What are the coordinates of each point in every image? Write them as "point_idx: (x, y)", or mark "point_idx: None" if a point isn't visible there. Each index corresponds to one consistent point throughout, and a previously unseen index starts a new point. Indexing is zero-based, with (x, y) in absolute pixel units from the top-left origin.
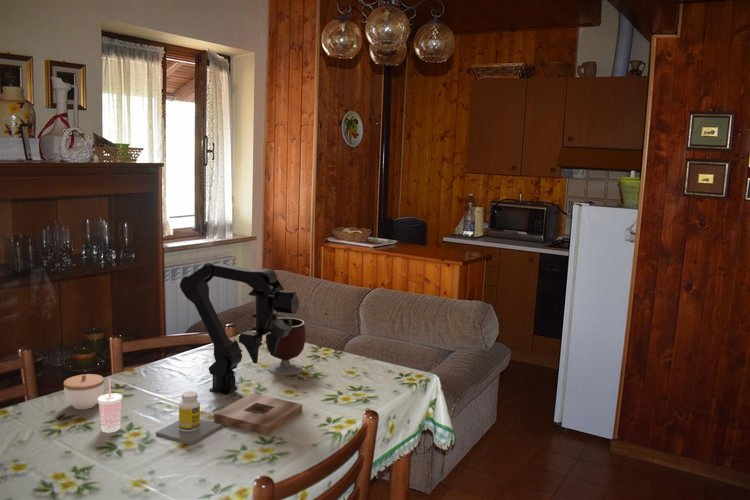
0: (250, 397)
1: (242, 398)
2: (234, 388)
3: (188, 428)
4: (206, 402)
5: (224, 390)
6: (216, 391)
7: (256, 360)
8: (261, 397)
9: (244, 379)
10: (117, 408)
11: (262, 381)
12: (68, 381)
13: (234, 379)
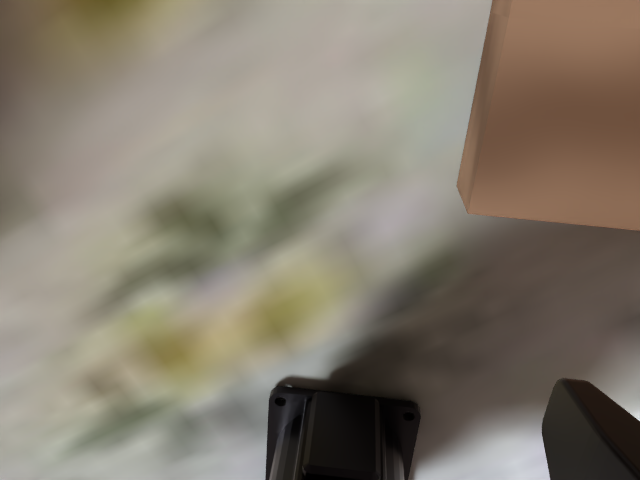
0: (591, 167)
1: (636, 222)
2: (327, 394)
3: None
4: None
5: (390, 431)
6: (409, 464)
7: (636, 424)
8: (562, 61)
9: (103, 414)
10: None
11: (55, 298)
12: None
13: (323, 450)
